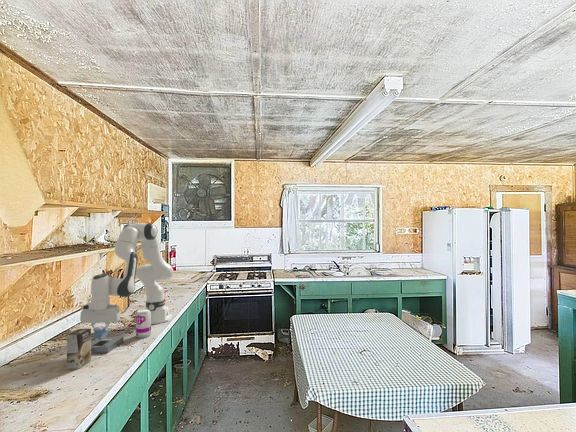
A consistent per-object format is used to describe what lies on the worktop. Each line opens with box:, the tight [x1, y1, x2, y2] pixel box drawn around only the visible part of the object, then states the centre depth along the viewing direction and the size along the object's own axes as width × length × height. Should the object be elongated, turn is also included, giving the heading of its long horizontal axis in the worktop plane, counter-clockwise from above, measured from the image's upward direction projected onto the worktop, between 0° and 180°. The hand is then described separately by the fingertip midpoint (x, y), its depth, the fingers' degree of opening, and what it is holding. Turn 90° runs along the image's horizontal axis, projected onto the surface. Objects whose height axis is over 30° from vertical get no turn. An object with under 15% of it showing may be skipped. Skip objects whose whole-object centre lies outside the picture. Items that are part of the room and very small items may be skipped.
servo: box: [91, 325, 110, 340], centre depth 183 cm, size 9×4×6 cm, turn 179°
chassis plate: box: [91, 336, 125, 354], centre depth 184 cm, size 16×14×3 cm
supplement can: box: [135, 308, 152, 339], centre depth 202 cm, size 8×8×15 cm
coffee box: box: [66, 328, 92, 370], centre depth 162 cm, size 9×6×16 cm
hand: (100, 330), depth 182 cm, fingers closed on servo, 4 cm apart
